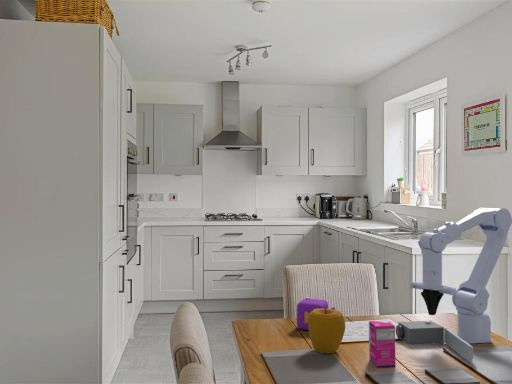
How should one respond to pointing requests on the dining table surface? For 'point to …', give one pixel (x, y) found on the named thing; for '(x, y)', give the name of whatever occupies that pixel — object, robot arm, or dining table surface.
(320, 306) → the toy camera
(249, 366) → the dining table surface
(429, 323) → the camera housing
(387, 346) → the supplement box
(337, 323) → the apple
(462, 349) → the side door
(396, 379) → the dining table surface
